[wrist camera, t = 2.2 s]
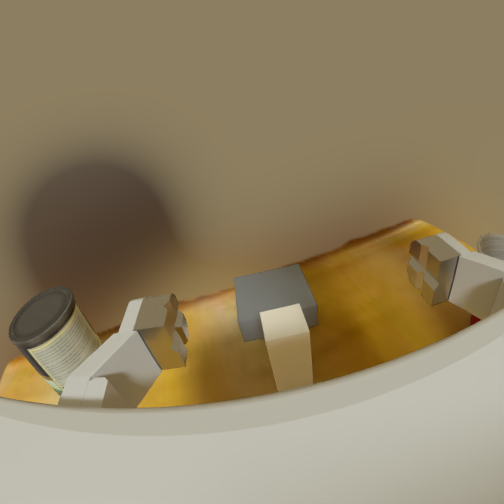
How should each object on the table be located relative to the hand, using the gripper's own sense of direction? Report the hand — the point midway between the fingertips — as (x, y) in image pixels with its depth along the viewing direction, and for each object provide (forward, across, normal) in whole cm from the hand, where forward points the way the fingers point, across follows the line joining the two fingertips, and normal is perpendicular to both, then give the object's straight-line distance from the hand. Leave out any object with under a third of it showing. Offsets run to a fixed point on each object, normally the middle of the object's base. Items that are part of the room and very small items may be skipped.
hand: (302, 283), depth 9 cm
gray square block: (+24, 0, +23) cm, 33 cm away
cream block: (+12, 0, +22) cm, 25 cm away
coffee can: (+14, +27, +23) cm, 38 cm away
